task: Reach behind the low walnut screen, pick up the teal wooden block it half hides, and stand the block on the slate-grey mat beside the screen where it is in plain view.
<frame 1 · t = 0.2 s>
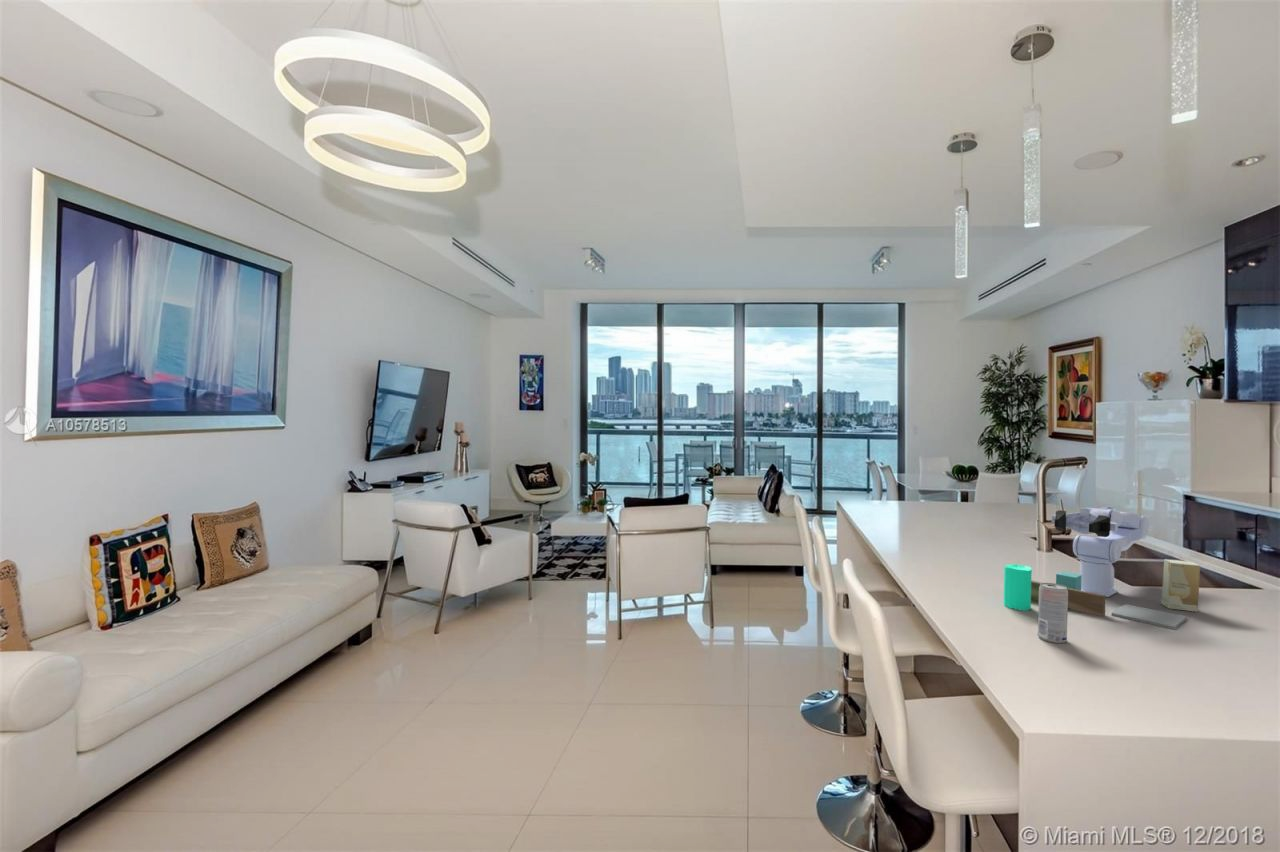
hand: (1072, 525, 157), 21 cm above the kitchen island, tool horizontal, fingers open, 7 cm apart
walnut screen: (1057, 605, 157), on the kitchen island
energy drink: (1052, 640, 133), on the kitchen island
candle: (1016, 607, 155), on the kitchen island
grey mat: (1148, 617, 148), on the kitchen island
skincare box: (1179, 608, 155), on the kitchen island
teal block: (1068, 599, 161), on the kitchen island
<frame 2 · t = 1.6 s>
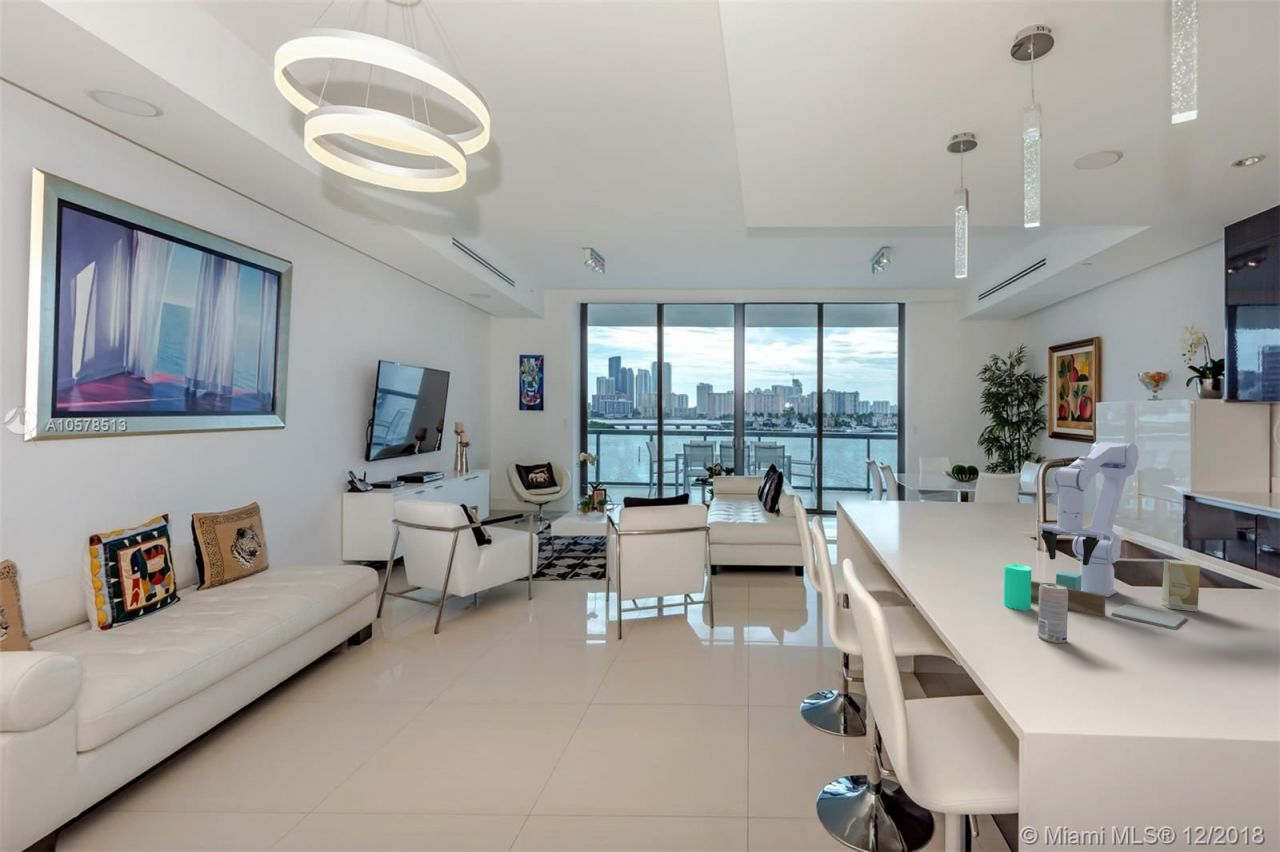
hand: (1068, 561, 161), 10 cm above the kitchen island, tool pointing down, fingers open, 7 cm apart
nothing on the kitchen island moved.
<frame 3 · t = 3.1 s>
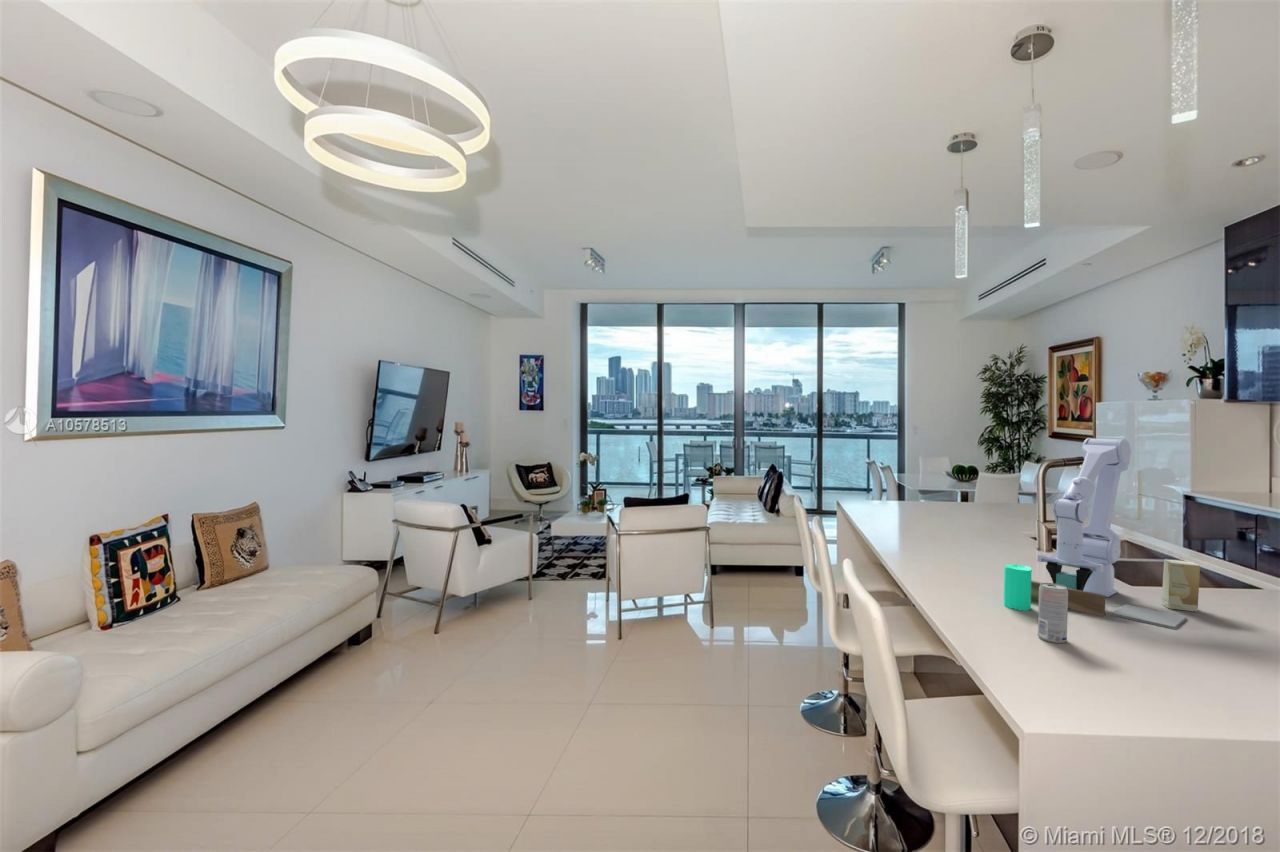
hand: (1068, 592, 161), 2 cm above the kitchen island, tool pointing down, fingers closed on teal block, 4 cm apart
teal block: (1068, 599, 161), on the kitchen island, touching gripper
everything else where it was.
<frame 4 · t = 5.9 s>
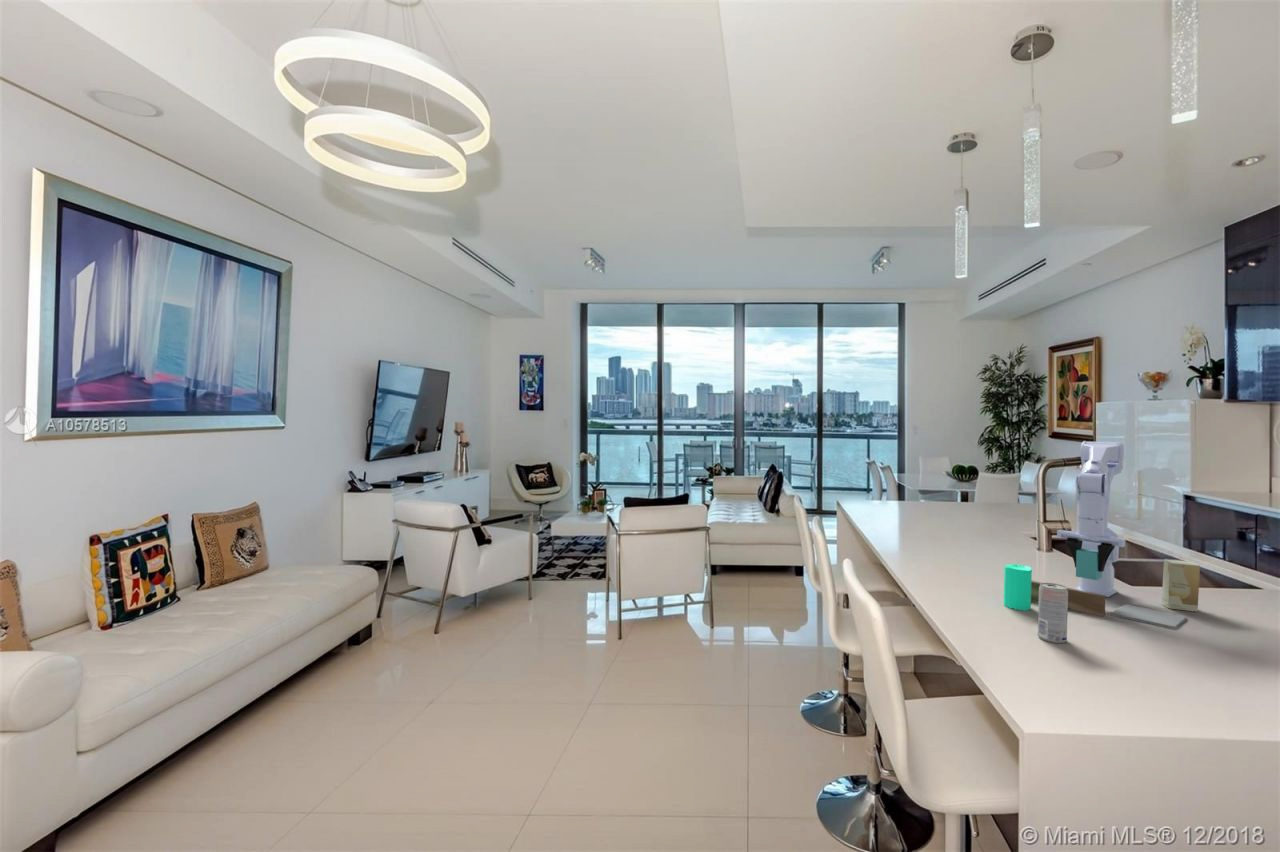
hand: (1089, 569, 158), 9 cm above the kitchen island, tool pointing down, fingers closed on teal block, 4 cm apart
teal block: (1088, 577, 158), point 7 cm above the kitchen island, touching gripper
everything else where it was.
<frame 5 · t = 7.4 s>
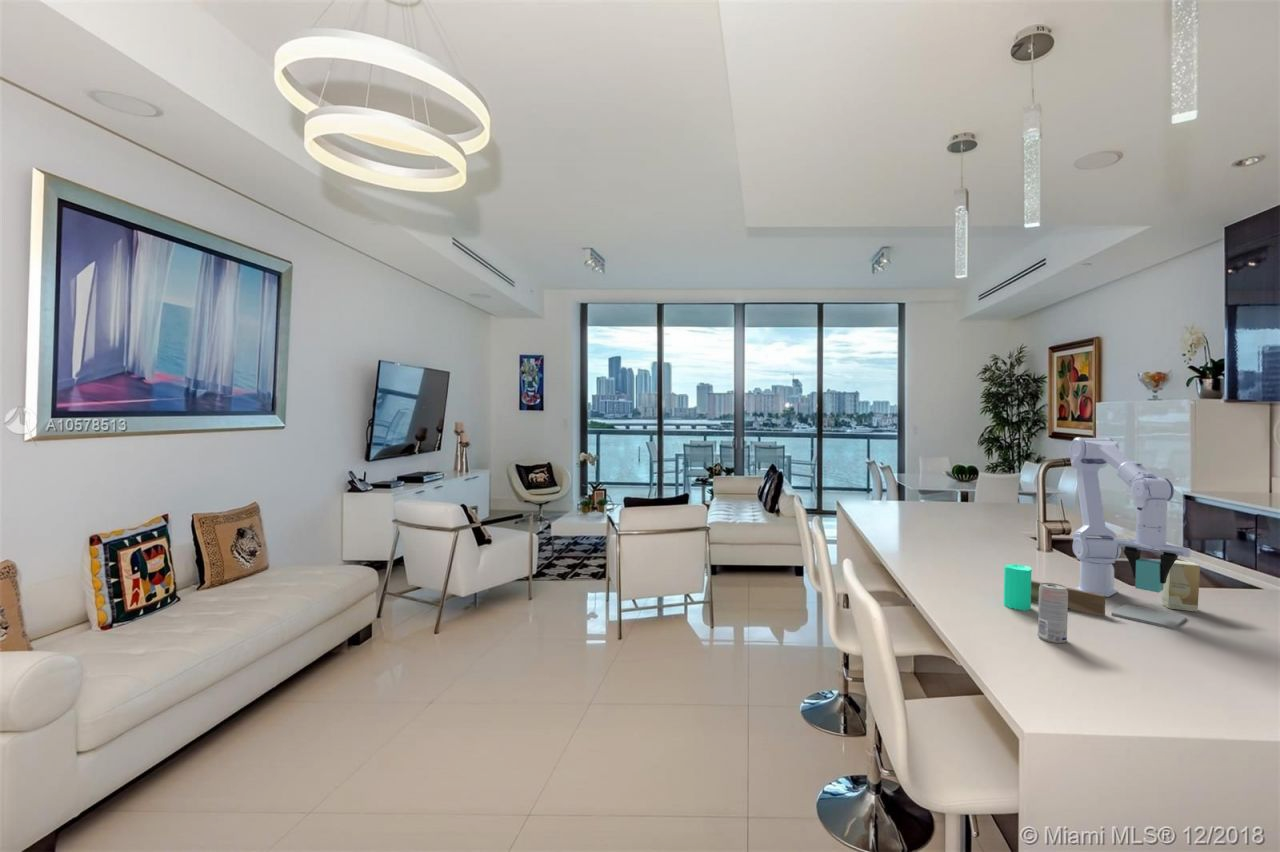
hand: (1149, 580, 148), 9 cm above the kitchen island, tool pointing down, fingers closed on teal block, 4 cm apart
teal block: (1149, 588, 148), point 7 cm above the kitchen island, touching gripper
everything else where it was.
when the fingers open (4 cm above the kitchen island, at t = 8.8 s): teal block stays where it is, resting on grey mat.
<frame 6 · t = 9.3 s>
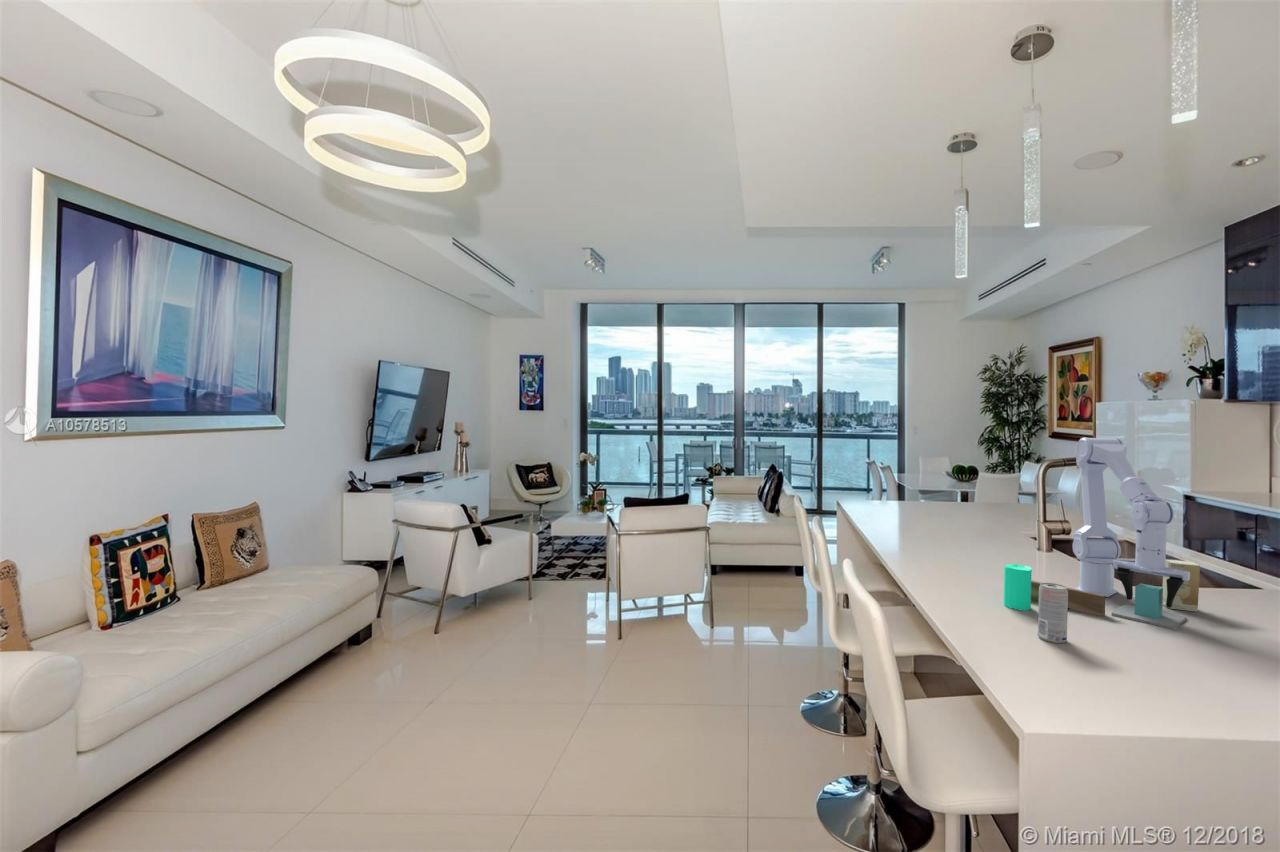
hand: (1149, 602, 148), 4 cm above the kitchen island, tool pointing down, fingers open, 7 cm apart
teal block: (1148, 614, 148), point 1 cm above the kitchen island, touching grey mat
everything else where it was.
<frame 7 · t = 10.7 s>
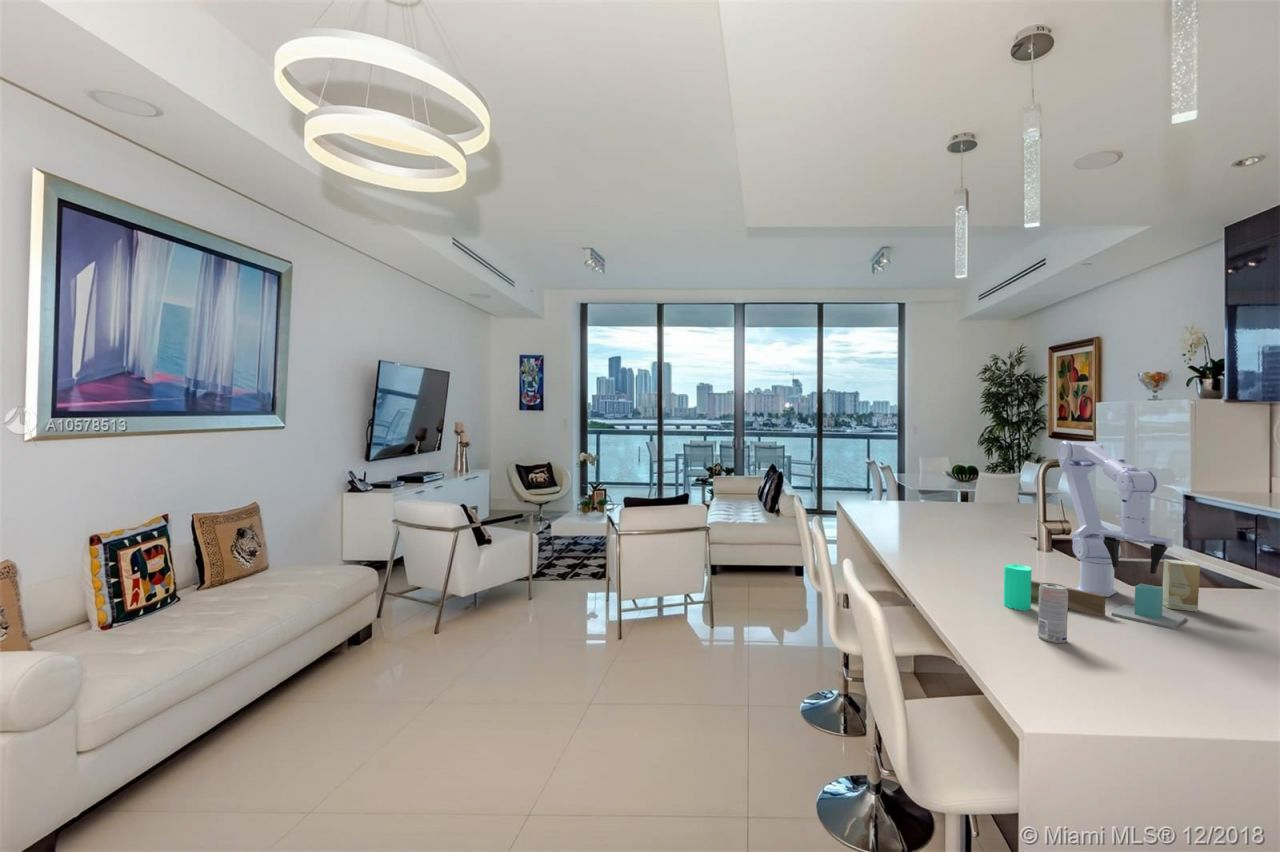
hand: (1134, 569, 153), 10 cm above the kitchen island, tool pointing down, fingers open, 7 cm apart
nothing on the kitchen island moved.
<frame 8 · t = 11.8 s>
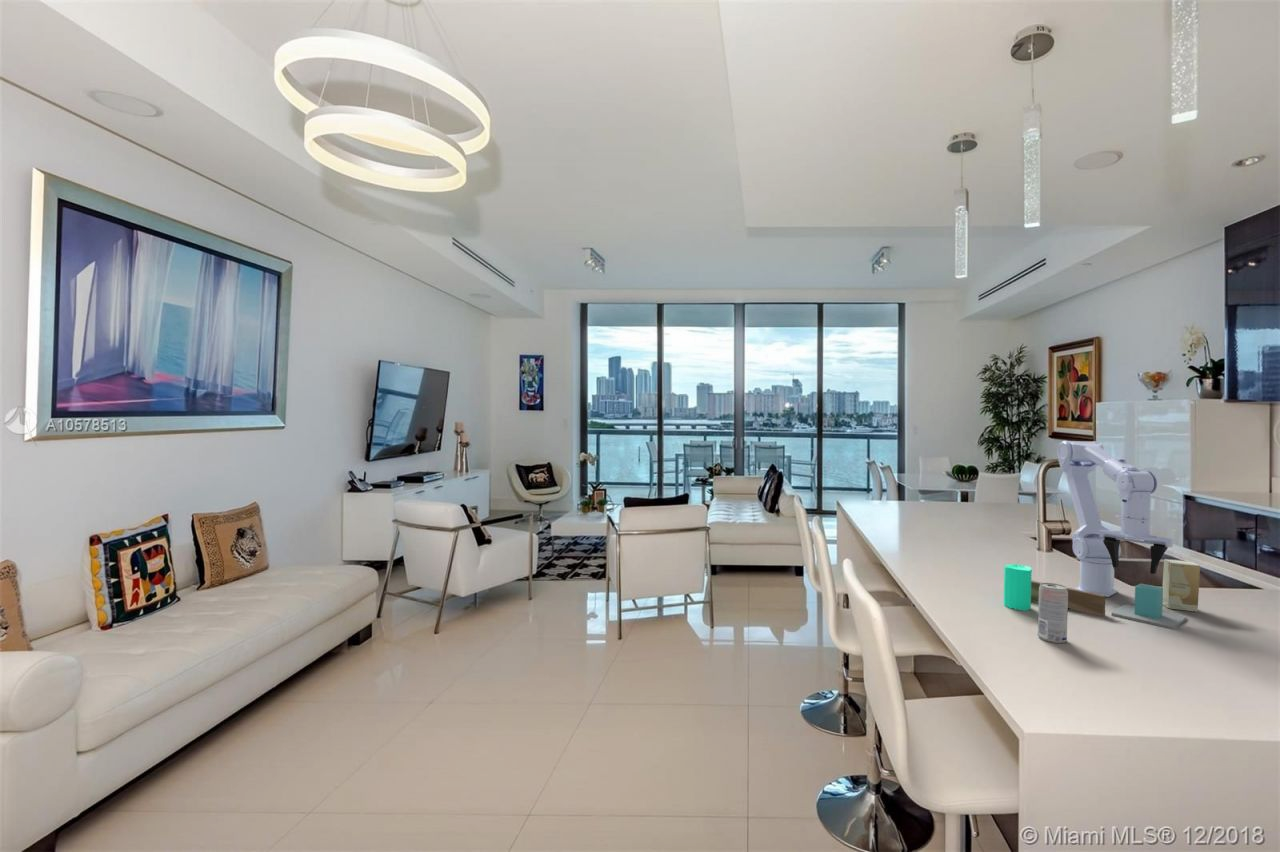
hand: (1134, 569, 153), 10 cm above the kitchen island, tool pointing down, fingers open, 7 cm apart
nothing on the kitchen island moved.
at the end: teal block inside the target area on the grey mat (0.2 cm from its centre), point 0.6 cm above the grey mat's base; teal block tilted 0°; the gripper is holding nothing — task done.
